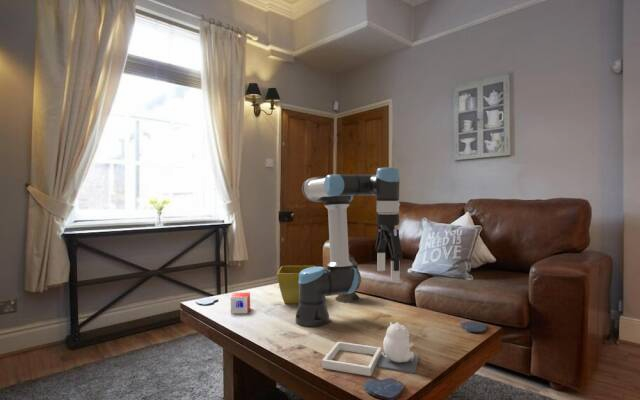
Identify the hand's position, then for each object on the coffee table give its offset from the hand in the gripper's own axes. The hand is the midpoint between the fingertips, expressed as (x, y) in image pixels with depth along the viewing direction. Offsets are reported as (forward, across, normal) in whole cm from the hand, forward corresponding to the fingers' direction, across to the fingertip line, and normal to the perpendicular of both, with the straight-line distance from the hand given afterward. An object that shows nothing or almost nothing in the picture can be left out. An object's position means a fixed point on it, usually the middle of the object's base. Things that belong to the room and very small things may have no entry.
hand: (387, 275), depth 123 cm
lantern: (+30, +71, -4) cm, 77 cm away
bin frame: (+28, -1, +13) cm, 31 cm away
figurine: (+28, -4, -2) cm, 28 cm away
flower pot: (+30, +74, +24) cm, 84 cm away
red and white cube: (+30, +63, +53) cm, 87 cm away
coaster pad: (+28, -5, -2) cm, 28 cm away
